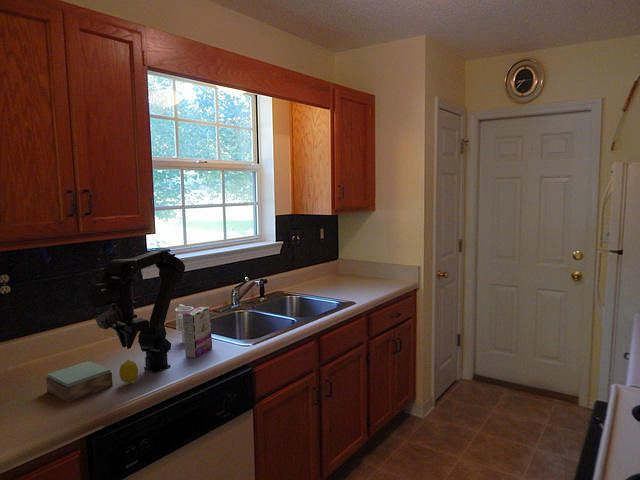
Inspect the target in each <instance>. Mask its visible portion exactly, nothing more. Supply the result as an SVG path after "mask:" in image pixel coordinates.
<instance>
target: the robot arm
mask: <svg viewBox="0 0 640 480" xmlns="http://www.w3.org/2000/svg"><path fill="white" fill-rule="evenodd" d="M154 265H155V266H154ZM151 266H154V267H156V268H157V269H158V270H159V271H158V276H159V277H158V278H159V280H160V284H159V287H158V291H157V294H156V297H155V300H154V304H153V306H152V307H153V308H152V311H151V315H150V317H149V318H150V319H149V320H148V319H145V318H142V317H140V318H138V314H135V310H134V309H135V307H134V306H137V301H134V293H133V292H134V291H133V284H136V283H137V282H138V280H137V279H135V278H134V276H137V275H138V273H139V271H140V270H143V269H146V268H148V267H151ZM185 270H186V266H185V263H184V261H182V260H181V259H180V258H179V257H176V256H175V255H173V254H171V253H170V252H169V251H168V250H166V249H157V248H156V249H153V250H152V251H150V252H146V253H143V254H141V255H138V256H134V257H131V258H119V259H117V258H116V259H111V260H110V261H109V262H108V265H107V267H106V269H105V272H104V274H103V277H102V279H101V280H100V283H97V284H94V286H93V287H94V288H93V289H92V291H91V292H90V295H89V300H90V303H91V305H92V306H93V307H94V308H96V309H101V308H104V307H107V306H109V309H108V310H106V311H104V312H103V313H100V314H99V315H97V316H96V317H95V318H94V319H95V322H96V323H97V326H98V328H99V329H103V330H108V329H111V330H113V331H115V333H116V335H117V337H118V339H119V343H120V345H121V347H122V348H125V347H126V349H127V350H130V349H132V347H133V345H134V342H135V340H136V337H138V338H137V339H138V341H137V343H138V344H139V347H140V351H141V352H143V353H145V357H144V359H145V361H144V362H145V366H144V367H143V369H144V370H146V371H150V372H152V373H158V372H161V371H163V370H166V369H168V368H170V367H171V364H168V361H169V360H168V353H169V351H171V350H172V343H171V342H170V341H169V340H168V339H167V338H166V337H167V331H166V327H165V322H166V318H167V315H168V311H169V308H170V304H171V300H172V297H173V293H174V290H175V287H176V285H177V284H178V283H179V282H180V281H181V280H182V279H183V275H184V273H185ZM138 333H139V334H138Z"/></svg>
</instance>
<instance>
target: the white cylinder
mask: <svg viewBox="0 0 640 480" xmlns="http://www.w3.org/2000/svg"><path fill="white" fill-rule="evenodd" d="M194 309H195V308H194V307H193V306H190V305H189V306H188V305H187V306H185V305H184V304H181V303H180V304H178V307H176V308H175V318H176V319H175V321H176V323H175V324H176V326H175V328H176V329H175V330H176V331H177V332H181V344H185V338H184V324H183V314H185V313H187V312H189V311H191V310H194Z"/></svg>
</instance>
